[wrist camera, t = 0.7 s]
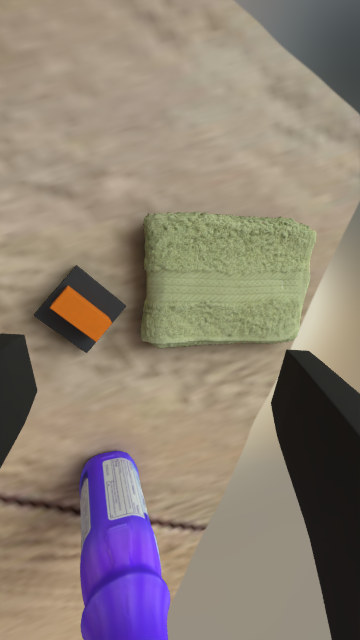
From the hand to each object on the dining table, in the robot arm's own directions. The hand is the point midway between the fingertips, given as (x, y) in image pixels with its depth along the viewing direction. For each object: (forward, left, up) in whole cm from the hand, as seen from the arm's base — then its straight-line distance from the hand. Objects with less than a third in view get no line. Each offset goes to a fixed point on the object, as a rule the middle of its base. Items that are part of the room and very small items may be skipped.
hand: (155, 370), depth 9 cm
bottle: (-14, -13, -21) cm, 28 cm away
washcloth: (+9, -9, -21) cm, 25 cm away
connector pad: (-2, 0, -21) cm, 21 cm away
